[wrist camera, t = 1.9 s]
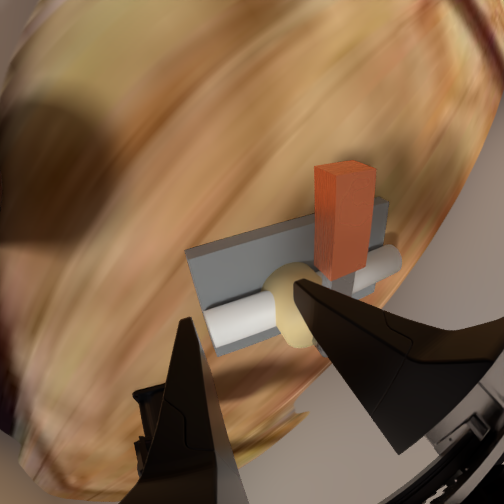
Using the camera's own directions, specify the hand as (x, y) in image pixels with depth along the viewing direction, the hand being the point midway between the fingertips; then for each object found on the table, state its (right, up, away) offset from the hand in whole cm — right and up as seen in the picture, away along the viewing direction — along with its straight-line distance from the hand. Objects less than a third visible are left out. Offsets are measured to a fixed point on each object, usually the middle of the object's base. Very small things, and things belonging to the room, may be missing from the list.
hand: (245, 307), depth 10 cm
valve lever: (+5, +1, +8) cm, 9 cm away
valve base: (+5, 0, +17) cm, 18 cm away
